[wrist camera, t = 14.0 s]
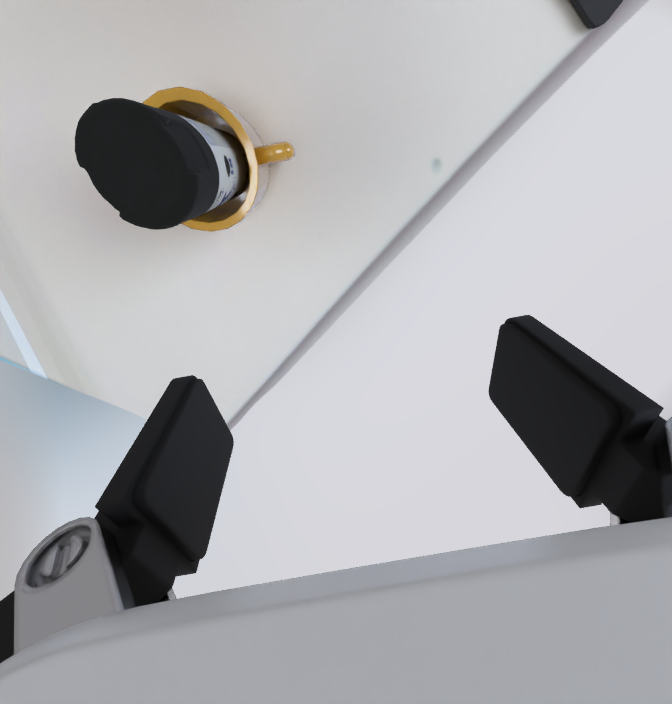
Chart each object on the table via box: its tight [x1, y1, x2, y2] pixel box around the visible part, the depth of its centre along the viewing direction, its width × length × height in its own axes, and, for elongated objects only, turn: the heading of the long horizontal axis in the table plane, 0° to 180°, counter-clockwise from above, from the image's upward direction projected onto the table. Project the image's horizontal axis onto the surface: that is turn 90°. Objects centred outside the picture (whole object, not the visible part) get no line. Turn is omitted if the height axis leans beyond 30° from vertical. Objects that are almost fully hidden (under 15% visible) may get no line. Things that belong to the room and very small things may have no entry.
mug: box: [142, 87, 295, 231], centre depth 30 cm, size 14×11×10 cm
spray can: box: [75, 98, 249, 229], centre depth 25 cm, size 7×7×20 cm
